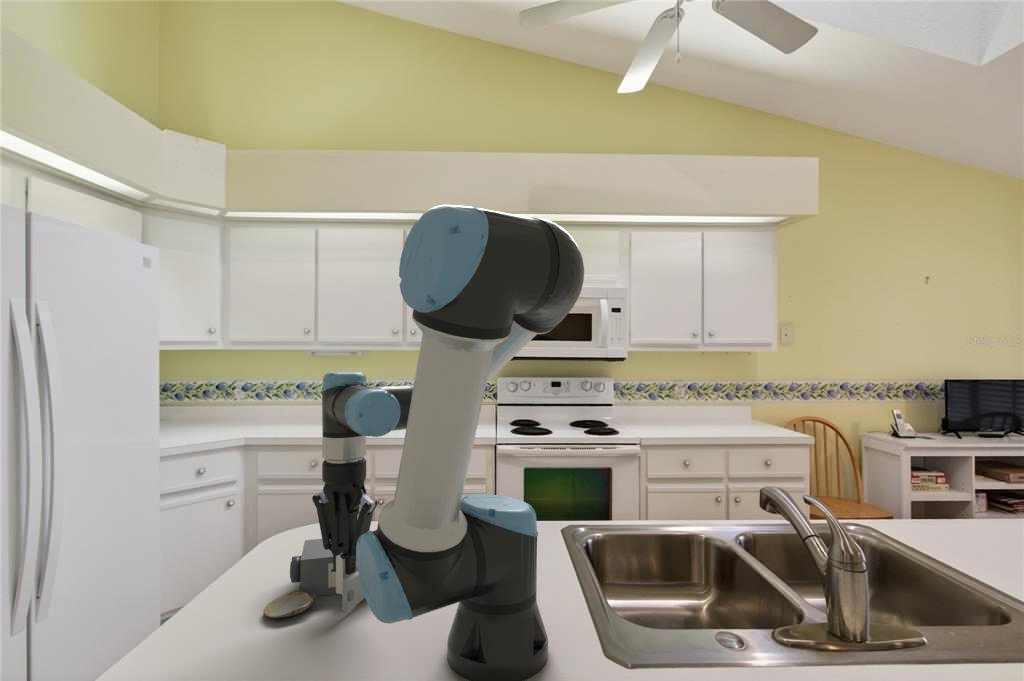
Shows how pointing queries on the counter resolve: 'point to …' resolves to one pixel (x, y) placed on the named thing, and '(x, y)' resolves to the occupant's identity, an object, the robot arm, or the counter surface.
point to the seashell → (289, 605)
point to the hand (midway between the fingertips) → (344, 590)
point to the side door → (351, 592)
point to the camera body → (314, 569)
